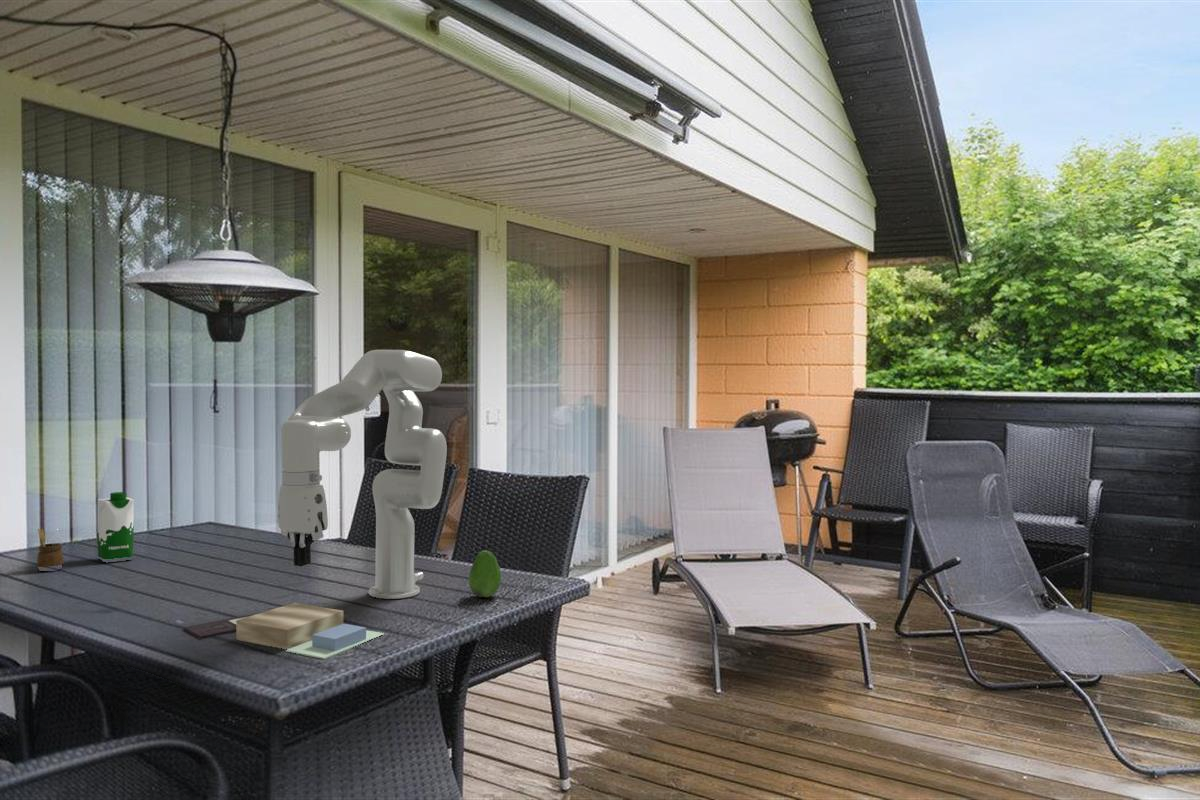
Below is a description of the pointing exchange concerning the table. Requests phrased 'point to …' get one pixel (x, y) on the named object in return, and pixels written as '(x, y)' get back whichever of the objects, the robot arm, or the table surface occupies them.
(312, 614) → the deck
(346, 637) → the blue-grey foam block
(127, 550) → the milk carton
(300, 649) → the mat
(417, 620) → the table surface
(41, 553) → the utensil holder
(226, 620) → the chocolate bar
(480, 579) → the avocado
